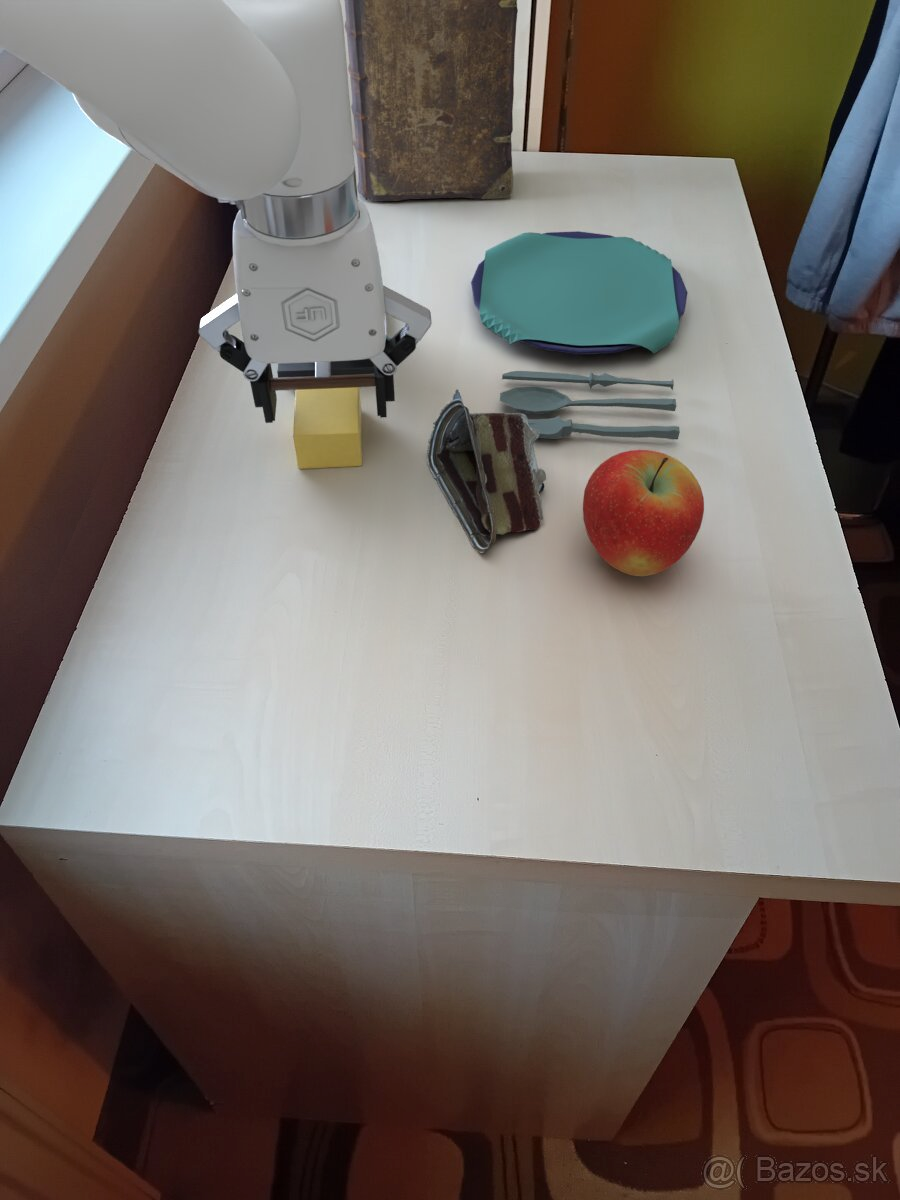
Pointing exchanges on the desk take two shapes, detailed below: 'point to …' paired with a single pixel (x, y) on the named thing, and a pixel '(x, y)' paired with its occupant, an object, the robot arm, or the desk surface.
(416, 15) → the book
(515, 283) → the cutlery set
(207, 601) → the desk surface
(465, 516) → the chocolate cake
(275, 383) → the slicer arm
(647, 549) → the apple
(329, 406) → the butter
